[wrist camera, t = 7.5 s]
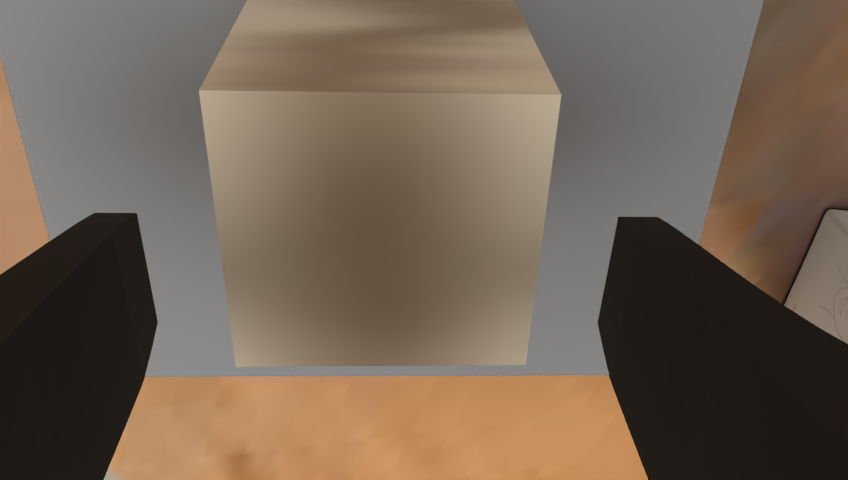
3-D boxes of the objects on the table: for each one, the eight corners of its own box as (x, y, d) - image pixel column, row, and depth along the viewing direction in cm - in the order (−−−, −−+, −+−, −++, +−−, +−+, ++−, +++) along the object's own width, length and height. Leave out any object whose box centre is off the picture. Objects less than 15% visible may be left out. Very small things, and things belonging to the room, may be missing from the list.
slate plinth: (786, -313, 15) (849, -322, 13) (639, 319, 24) (663, 375, 22) (-42, -350, 15) (-114, -367, 13) (113, 319, 23) (85, 377, 21)
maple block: (505, -18, 16) (561, 94, 11) (487, 196, 19) (525, 364, 14) (258, -22, 16) (199, 90, 11) (277, 195, 18) (235, 366, 13)
